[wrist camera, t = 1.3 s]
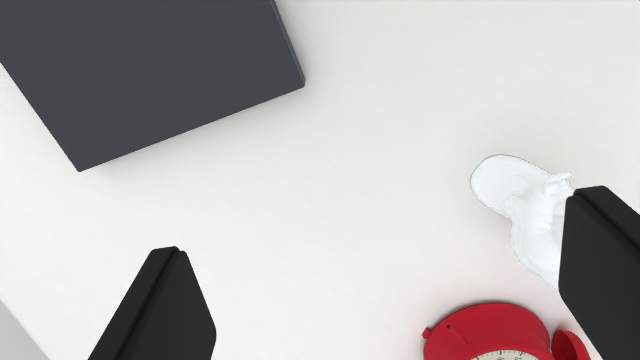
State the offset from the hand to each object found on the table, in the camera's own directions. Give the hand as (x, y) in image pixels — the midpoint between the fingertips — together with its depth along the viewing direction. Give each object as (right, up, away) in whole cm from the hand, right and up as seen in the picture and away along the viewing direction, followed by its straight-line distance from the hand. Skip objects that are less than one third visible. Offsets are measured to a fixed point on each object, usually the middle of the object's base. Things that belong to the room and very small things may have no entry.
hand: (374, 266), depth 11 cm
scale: (-12, +12, +15) cm, 23 cm away
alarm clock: (+14, -12, +27) cm, 33 cm away
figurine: (+14, +2, +20) cm, 24 cm away
